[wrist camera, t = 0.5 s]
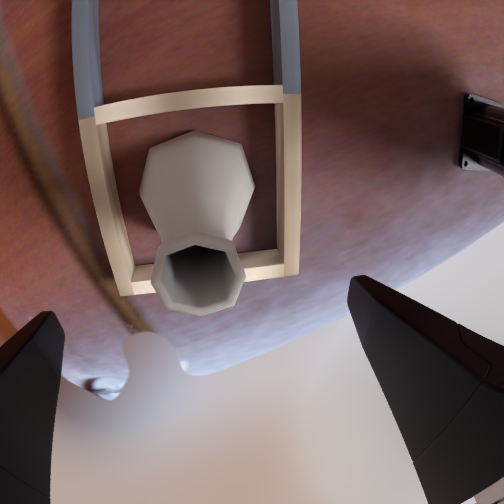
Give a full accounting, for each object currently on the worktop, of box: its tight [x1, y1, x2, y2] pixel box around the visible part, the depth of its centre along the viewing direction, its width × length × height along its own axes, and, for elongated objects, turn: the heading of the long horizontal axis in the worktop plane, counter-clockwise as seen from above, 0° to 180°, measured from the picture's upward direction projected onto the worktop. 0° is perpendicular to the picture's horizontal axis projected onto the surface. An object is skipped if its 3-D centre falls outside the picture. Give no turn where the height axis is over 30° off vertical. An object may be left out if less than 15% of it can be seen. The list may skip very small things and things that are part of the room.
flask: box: [139, 130, 255, 316], centre depth 14 cm, size 7×7×10 cm
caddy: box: [72, 0, 302, 296], centre depth 15 cm, size 12×23×2 cm, turn 2°
